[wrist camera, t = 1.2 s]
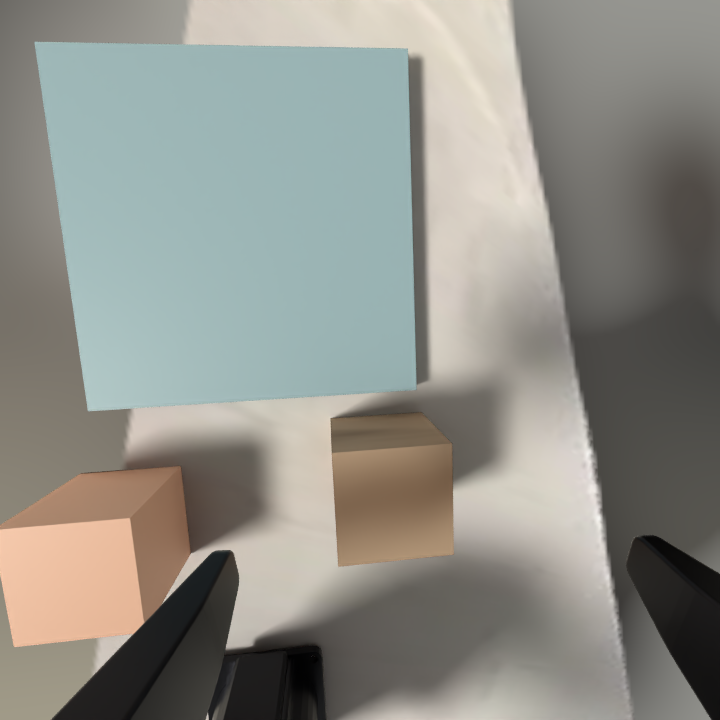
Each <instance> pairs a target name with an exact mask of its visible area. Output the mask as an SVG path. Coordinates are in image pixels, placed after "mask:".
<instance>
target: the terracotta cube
mask: <svg viewBox="0 0 720 720" xmlns="http://www.w3.org/2000/svg"><path fill="white" fill-rule="evenodd" d="M190 554H191V552H190V543H189V534H188V525H187V516H186V508H185V499H184V490H183V481H182V472H181V466H174V467H161V468H148V469H135V470H115V471H102V472H90V473H89V472H88V473H81V474H79V475H78V476H76V477H74V478H73V479H71V480H70V481H68V482H67V483H65V484H63V485H62V486H60V487H59V488H57V489H56V490H54V491H53V492H51V493H49V494H48V495H46V496H45V497H43V498H42V499H40V500H38V501H37V502H35V503H34V504H32V505H31V506H29V507H28V508H26V509H24V510H23V511H21V512H20V513H18V514H17V515H15V516H13V517H12V518H10V519H9V520H7V521H6V522H4V523H3V524H1V525H0V574H1V580H2V586H3V591H4V596H5V602H6V607H7V612H8V618H9V623H10V628H11V633H12V638H13V644H14V647H19V646H28V645H37V644H46V643H55V642H63V641H72V640H81V639H90V638H99V637H108V636H117V635H126V634H134V633H135V632H136V631H137V630H138V629H139V628H140V627H141V626H142V625H143V624H144V623H145V621H146V620H147V619H148V618H149V617H150V616H151V615H152V614H153V613H154V612H155V611H156V610H157V609H158V608H159V607H160V606H161V604H162V602H163V601H164V599H165V597H166V595H167V594H168V592H169V590H170V588H171V587H172V585H173V583H174V582H175V580H176V578H177V576H178V575H179V573H180V571H181V569H182V568H183V566H184V564H185V562H186V561H187V559H188V557H189V555H190Z"/></svg>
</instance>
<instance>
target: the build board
mask: <svg viewBox="0 0 720 720" xmlns="http://www.w3.org/2000/svg"><path fill="white" fill-rule="evenodd" d="M35 48H36V55H37V62H38V69H39V76H40V83H41V90H42V96H43V104H44V110H45V117H46V124H47V131H48V138H49V145H50V152H51V159H52V166H53V173H54V179H55V186H56V193H57V199H58V207H59V214H60V221H61V228H62V234H63V242H64V249H65V255H66V262H67V269H68V276H69V283H70V290H71V297H72V304H73V310H74V318H75V324H76V331H77V338H78V345H79V351H80V359H81V366H82V373H83V380H84V386H85V394H86V400H87V407H88V411H98V410H113V409H127V408H128V409H129V408H144V407H160V406H175V405H191V404H206V403H222V402H237V401H253V400H269V399H284V398H300V397H315V396H331V395H346V394H362V393H377V392H393V391H408V390H417V388H416V349H415V310H414V271H413V232H412V193H411V154H410V116H409V77H408V49H401V48H345V47H290V46H234V45H179V44H175V45H174V44H123V43H122V44H121V43H67V42H35Z"/></svg>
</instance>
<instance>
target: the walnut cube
mask: <svg viewBox="0 0 720 720" xmlns="http://www.w3.org/2000/svg"><path fill="white" fill-rule="evenodd" d="M331 445H332V465H333V483H334V500H335V517H336V535H337V552H338V567H340V566H350V565H359V564H369V563H378V562H388V561H397V560H407V559H416V558H426V557H435V556H445V555H454V539H453V463H452V443H451V442H450V441H449V440H448V439H447V438H446V437H445V436H444V435H443V434H442V433H441V432H440V431H439V430H438V429H437V428H436V427H435V426H434V424H433V423H432V422H431V421H430V420H429V419H428V418H427V417H426V416H425V415H424V414H423V413H422V412H417V413H402V414H388V415H374V416H359V417H345V418H331Z"/></svg>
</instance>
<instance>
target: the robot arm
mask: <svg viewBox="0 0 720 720" xmlns="http://www.w3.org/2000/svg"><path fill="white" fill-rule="evenodd" d="M626 568H627V571H628V574H629V576H630V578H631V580H632V582H633V584H634V586H635V588H636V590H637V591H638V593H639V595H640V597H641V599H642V601H643V603H644V605H645V607H646V609H647V611H648V613H649V615H650V616H651V618H652V620H653V622H654V624H655V626H656V628H657V630H658V632H659V634H660V636H661V638H662V639H663V641H664V643H665V645H666V647H667V648H668V650H669V652H670V654H671V655H672V657H673V659H674V660H675V662H676V664H677V665H678V667H679V669H680V670H681V672H682V673H683V675H684V677H685V678H686V680H687V682H688V683H689V685H690V686H691V688H692V689H693V691H694V693H695V694H696V696H697V698H698V699H699V701H700V702H701V704H702V705H703V707H704V709H705V710H706V712H707V714H708V715H709V717H710V718H711V720H720V574H719V573H718V572H716V571H714V570H713V569H711V568H709V567H708V566H706V565H704V564H703V563H701V562H699V561H698V560H696V559H694V558H693V557H691V556H690V555H688V554H686V553H685V552H683V551H681V550H680V549H678V548H676V547H675V546H673V545H671V544H670V543H668V542H666V541H665V540H663V539H661V538H659V537H657V536H654V535H643V536H636V537H634V538H633V540H632V543H631V546H630V550H629V553H628V556H627V559H626ZM238 586H239V573H238V569H237V565H236V561H235V557H234V554H233V552H232V551H231V550H218V551H214V552H212V553H211V554H210V555H209V556H208V557H207V558H206V559H205V560H204V561H203V562H202V563H201V564H200V565H199V566H198V567H197V568H196V570H195V571H194V572H193V573H192V574H191V575H190V576H189V577H188V578H187V579H186V580H185V581H184V582H183V583H182V584H181V585H180V586H179V587H178V588H177V589H176V590H175V591H174V592H173V593H172V594H171V596H170V597H169V598H168V599H167V600H166V601H165V602H164V603H163V604H162V605H161V606H160V607H159V608H158V609H157V610H156V611H155V612H154V613H153V614H152V615H151V616H150V617H149V618H148V619H147V620H146V621H145V623H144V624H143V625H142V626H141V627H140V628H139V629H138V630H137V631H136V632H135V633H134V634H133V635H132V636H131V637H130V638H129V639H128V640H127V641H126V642H125V643H124V644H123V645H122V646H121V647H120V648H119V650H118V651H117V652H116V653H115V654H114V655H113V656H112V657H111V658H110V659H109V660H108V661H107V662H106V663H105V664H104V665H103V666H102V667H101V668H100V669H99V670H98V671H97V672H96V673H95V674H94V675H93V677H92V678H91V679H90V680H89V681H88V682H87V683H86V684H85V685H84V686H83V687H82V688H81V689H80V690H79V691H78V692H77V693H76V694H75V695H74V696H73V697H72V698H71V699H70V700H69V701H68V702H67V704H66V705H65V706H64V707H63V708H62V709H61V710H60V711H59V712H58V713H57V714H56V715H55V716H54V717H53V718H52V720H206V716H207V713H208V715H209V720H327V718H326V703H325V688H324V672H323V657H322V650H321V648H320V647H318V646H314V645H312V646H304V647H296V648H288V649H280V650H272V651H264V652H255V653H247V654H239V655H231V656H224V653H225V649H226V644H227V639H228V634H229V629H230V625H231V620H232V615H233V610H234V606H235V601H236V596H237V591H238ZM311 656H315V657H311Z"/></svg>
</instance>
